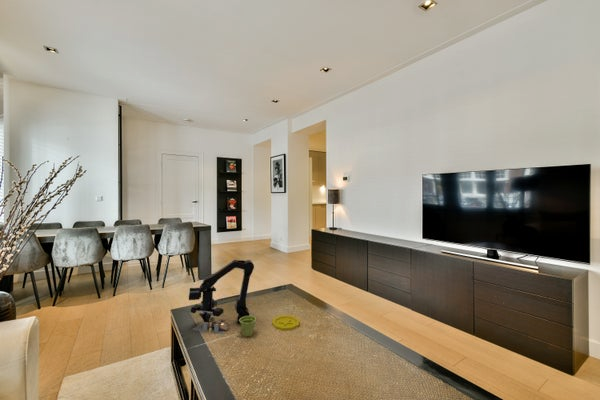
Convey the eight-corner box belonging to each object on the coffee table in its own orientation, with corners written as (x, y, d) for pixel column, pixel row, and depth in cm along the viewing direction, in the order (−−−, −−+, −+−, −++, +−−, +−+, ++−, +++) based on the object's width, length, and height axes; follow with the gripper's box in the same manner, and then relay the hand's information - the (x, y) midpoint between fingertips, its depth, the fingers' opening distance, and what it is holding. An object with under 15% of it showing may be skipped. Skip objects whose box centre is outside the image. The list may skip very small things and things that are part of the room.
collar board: (231, 328, 160) (231, 318, 160) (223, 336, 150) (223, 326, 150) (201, 323, 164) (201, 314, 164) (191, 331, 155) (192, 322, 155)
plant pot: (235, 335, 152) (235, 320, 151) (246, 328, 160) (246, 314, 160) (248, 340, 147) (248, 324, 147) (258, 332, 155) (259, 318, 155)
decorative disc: (300, 319, 175) (300, 316, 175) (297, 332, 158) (297, 329, 157) (275, 317, 177) (275, 314, 177) (269, 330, 159) (269, 327, 159)
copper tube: (229, 328, 157) (229, 321, 157) (225, 331, 153) (226, 325, 153) (210, 326, 160) (210, 319, 160) (207, 329, 156) (207, 322, 156)
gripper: (228, 295, 164) (227, 320, 164) (201, 292, 168) (200, 316, 168) (219, 302, 153) (218, 329, 153) (190, 298, 157) (189, 324, 157)
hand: (206, 324), depth 158 cm, fingers closed
